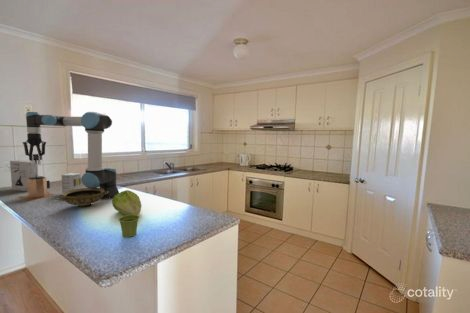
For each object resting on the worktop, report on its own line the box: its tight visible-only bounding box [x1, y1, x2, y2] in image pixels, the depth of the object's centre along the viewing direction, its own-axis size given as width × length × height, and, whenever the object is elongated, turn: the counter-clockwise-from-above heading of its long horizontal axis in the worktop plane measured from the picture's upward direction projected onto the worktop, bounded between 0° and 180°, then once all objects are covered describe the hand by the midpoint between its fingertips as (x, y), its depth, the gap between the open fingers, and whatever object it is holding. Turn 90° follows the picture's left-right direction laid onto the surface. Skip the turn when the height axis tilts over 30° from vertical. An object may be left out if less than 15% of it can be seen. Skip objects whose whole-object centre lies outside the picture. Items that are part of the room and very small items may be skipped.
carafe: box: [27, 175, 51, 198], centre depth 170 cm, size 10×13×15 cm
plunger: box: [32, 153, 39, 177], centre depth 168 cm, size 7×7×24 cm
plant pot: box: [118, 214, 140, 238], centre depth 110 cm, size 9×9×9 cm
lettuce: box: [111, 189, 142, 216], centre depth 140 cm, size 14×24×15 cm
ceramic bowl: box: [56, 187, 109, 208], centre depth 153 cm, size 30×24×10 cm
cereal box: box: [9, 159, 39, 192], centre depth 192 cm, size 22×8×25 cm, turn 73°
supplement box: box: [61, 172, 82, 194], centre depth 181 cm, size 10×9×17 cm
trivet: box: [17, 191, 58, 202], centre depth 170 cm, size 18×18×1 cm
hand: (35, 164), depth 167 cm, fingers closed on plunger, 3 cm apart
